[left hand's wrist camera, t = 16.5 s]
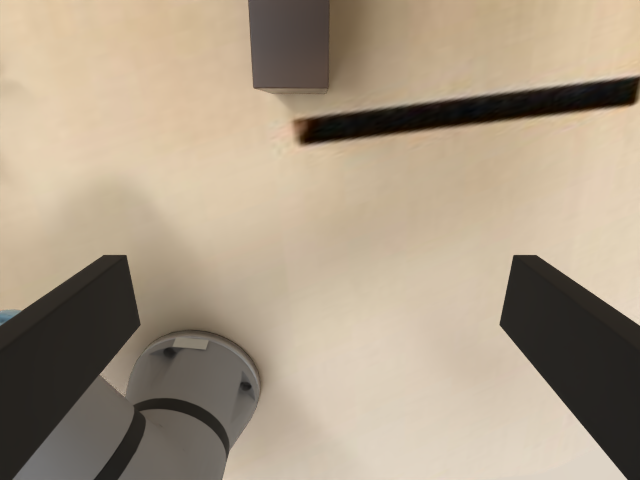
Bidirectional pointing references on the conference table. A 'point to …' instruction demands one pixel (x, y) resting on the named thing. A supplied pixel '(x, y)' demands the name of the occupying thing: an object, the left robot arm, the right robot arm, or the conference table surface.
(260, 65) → the beam
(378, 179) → the conference table surface
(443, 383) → the conference table surface
